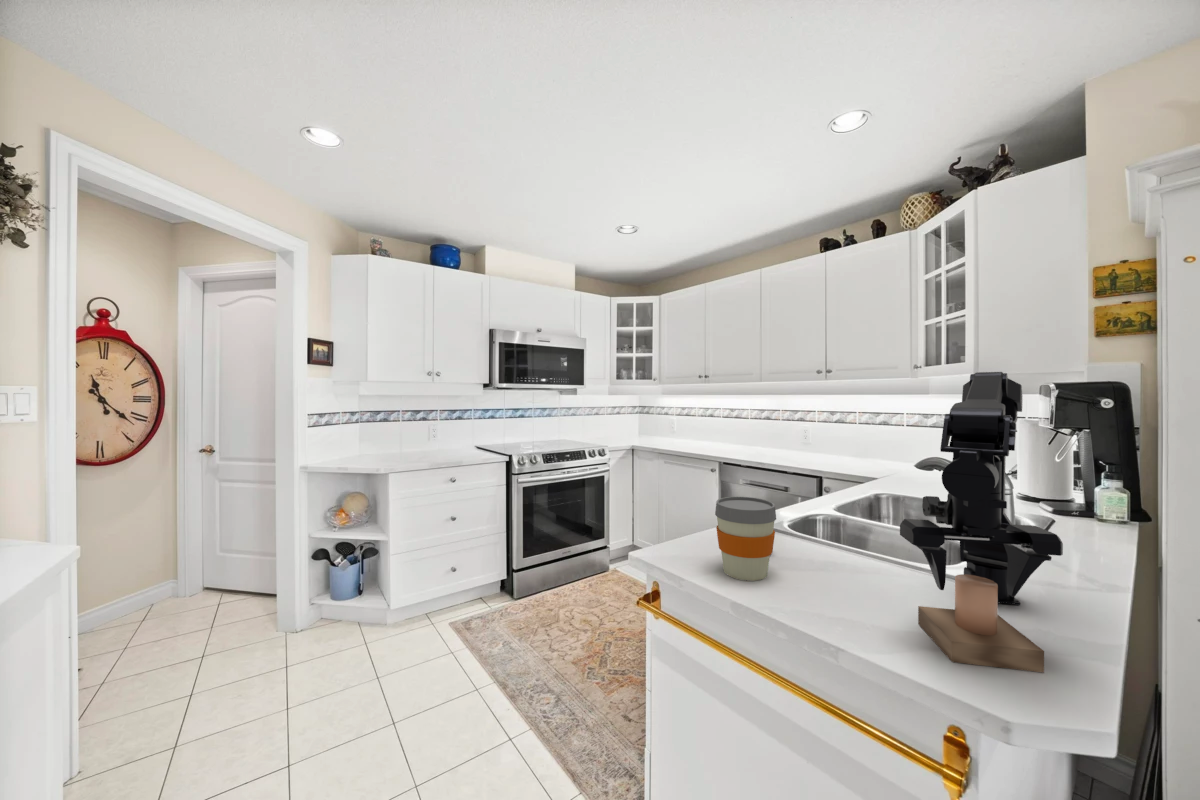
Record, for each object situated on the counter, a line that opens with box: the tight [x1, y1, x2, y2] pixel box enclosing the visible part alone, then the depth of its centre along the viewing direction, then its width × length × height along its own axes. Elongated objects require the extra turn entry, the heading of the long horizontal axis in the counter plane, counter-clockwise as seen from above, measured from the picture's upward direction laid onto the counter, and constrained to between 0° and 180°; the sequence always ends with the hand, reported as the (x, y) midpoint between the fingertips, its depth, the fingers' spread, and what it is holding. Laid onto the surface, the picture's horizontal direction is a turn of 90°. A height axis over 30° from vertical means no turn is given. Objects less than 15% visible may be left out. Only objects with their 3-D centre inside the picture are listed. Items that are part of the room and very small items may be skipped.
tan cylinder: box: [954, 573, 999, 635], centre depth 70 cm, size 5×5×7 cm
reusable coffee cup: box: [714, 496, 777, 582], centre depth 99 cm, size 12×13×15 cm
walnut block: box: [917, 605, 1045, 673], centre depth 70 cm, size 11×11×3 cm
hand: (975, 592), depth 69 cm, fingers open, 9 cm apart
